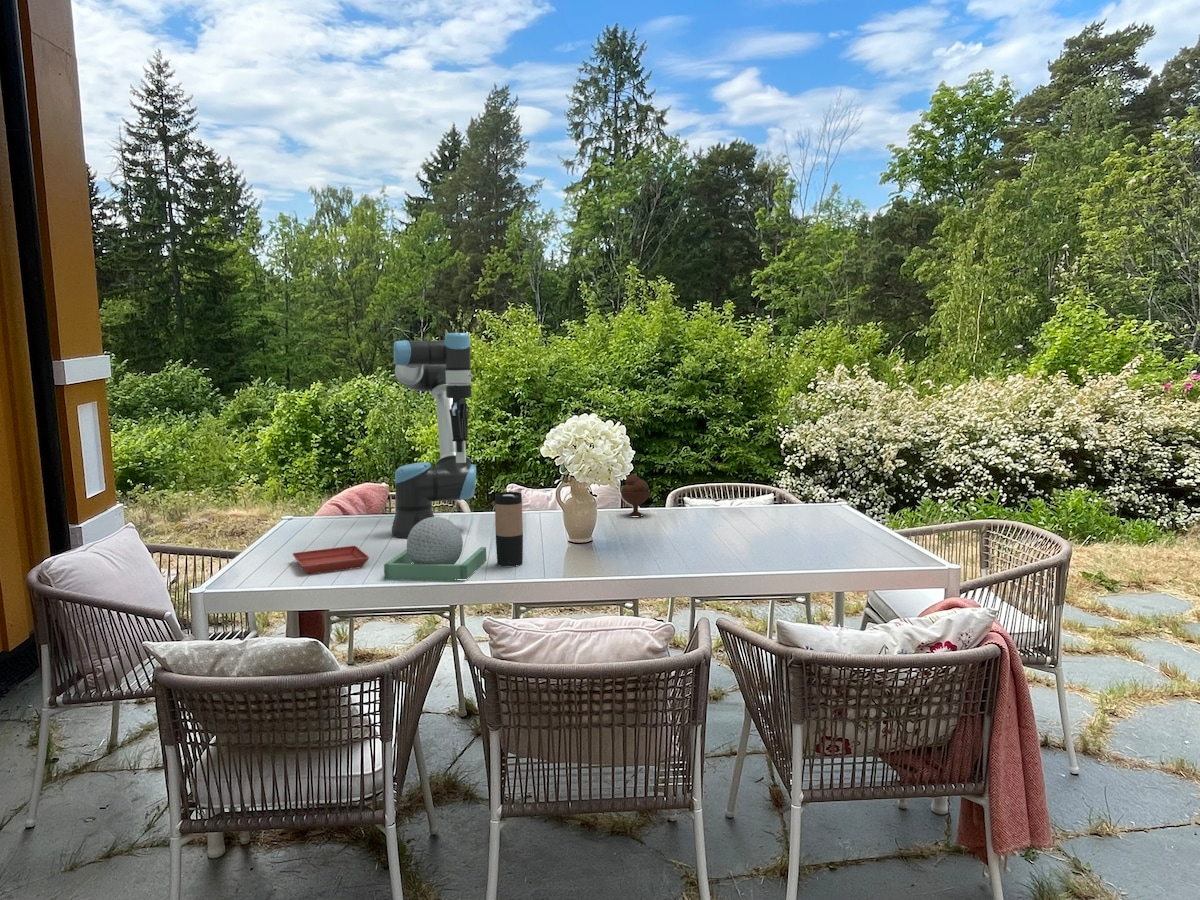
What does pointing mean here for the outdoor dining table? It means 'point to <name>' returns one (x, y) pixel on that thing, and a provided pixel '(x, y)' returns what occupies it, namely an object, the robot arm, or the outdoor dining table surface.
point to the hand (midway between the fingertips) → (461, 462)
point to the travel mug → (509, 528)
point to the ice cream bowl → (635, 493)
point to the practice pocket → (432, 568)
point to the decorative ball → (434, 542)
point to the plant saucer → (331, 559)
